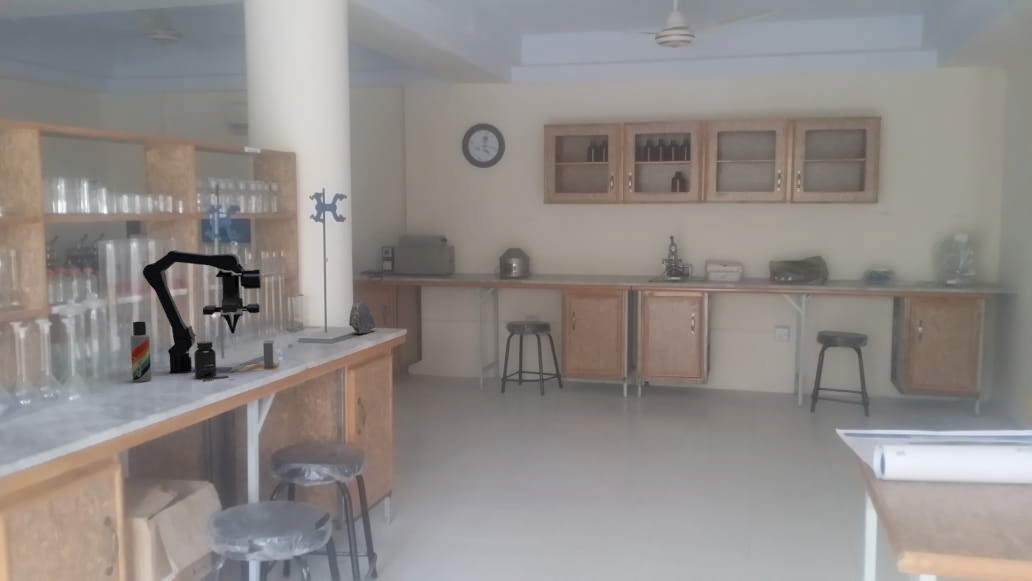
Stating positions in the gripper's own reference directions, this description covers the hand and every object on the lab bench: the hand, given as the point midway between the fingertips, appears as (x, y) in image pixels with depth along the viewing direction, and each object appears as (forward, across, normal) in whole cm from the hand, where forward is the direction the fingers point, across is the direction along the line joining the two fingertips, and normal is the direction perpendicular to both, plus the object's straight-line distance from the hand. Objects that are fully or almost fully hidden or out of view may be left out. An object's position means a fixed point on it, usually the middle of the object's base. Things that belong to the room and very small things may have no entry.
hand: (233, 333), depth 291 cm
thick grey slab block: (+13, +12, 0) cm, 17 cm away
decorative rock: (+14, +49, +73) cm, 89 cm away
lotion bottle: (+13, -28, -12) cm, 33 cm away
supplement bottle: (+13, -8, -12) cm, 19 cm away
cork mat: (+13, +7, 0) cm, 15 cm away
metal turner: (+13, -1, -16) cm, 21 cm away
